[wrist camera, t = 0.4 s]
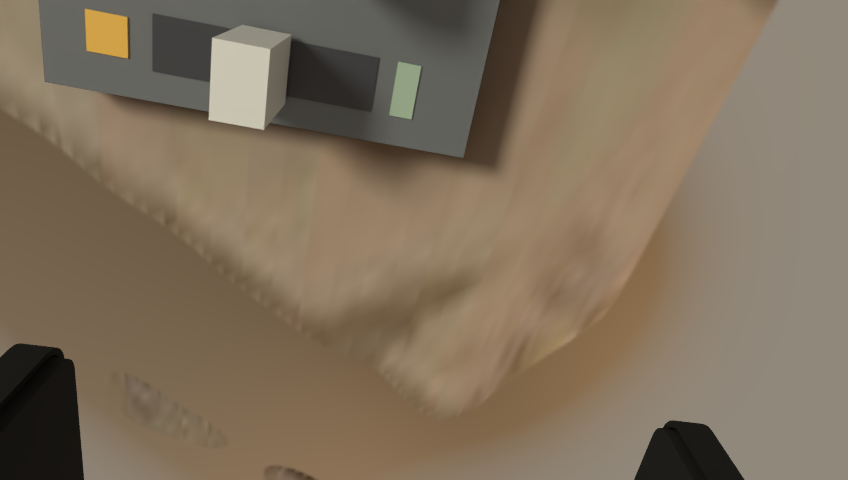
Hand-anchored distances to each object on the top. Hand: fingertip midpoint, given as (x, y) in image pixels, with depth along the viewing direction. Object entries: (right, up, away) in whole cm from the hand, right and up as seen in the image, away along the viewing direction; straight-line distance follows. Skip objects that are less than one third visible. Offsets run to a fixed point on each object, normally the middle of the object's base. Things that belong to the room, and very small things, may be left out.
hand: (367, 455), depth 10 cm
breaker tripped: (-7, +12, +20) cm, 25 cm away
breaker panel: (-7, +17, +22) cm, 28 cm away
